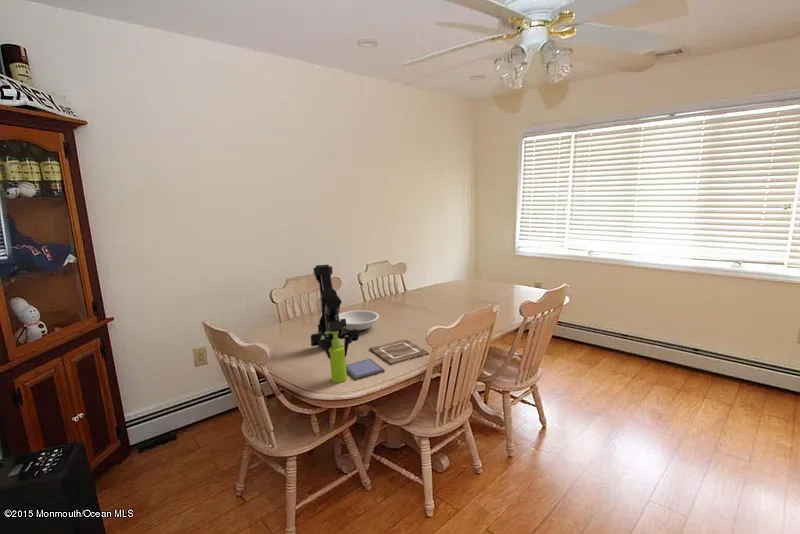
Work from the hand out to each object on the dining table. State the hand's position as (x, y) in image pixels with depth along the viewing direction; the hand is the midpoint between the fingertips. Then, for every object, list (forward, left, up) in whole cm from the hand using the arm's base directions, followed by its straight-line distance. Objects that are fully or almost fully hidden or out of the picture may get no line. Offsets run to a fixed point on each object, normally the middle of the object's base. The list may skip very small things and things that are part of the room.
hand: (337, 357), depth 153 cm
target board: (-11, +34, -10) cm, 37 cm away
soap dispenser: (-1, 0, -10) cm, 10 cm away
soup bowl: (-51, +32, -10) cm, 62 cm away
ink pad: (-3, +12, -10) cm, 16 cm away
